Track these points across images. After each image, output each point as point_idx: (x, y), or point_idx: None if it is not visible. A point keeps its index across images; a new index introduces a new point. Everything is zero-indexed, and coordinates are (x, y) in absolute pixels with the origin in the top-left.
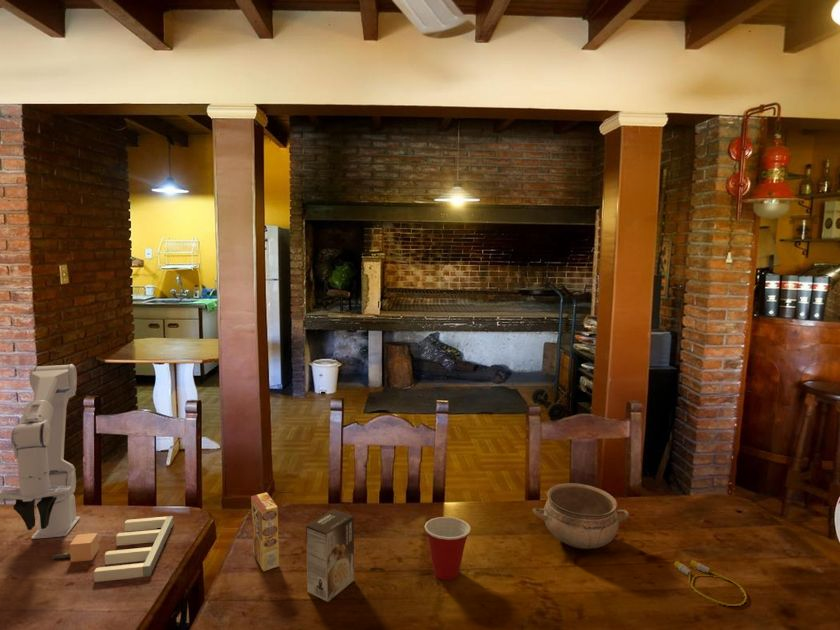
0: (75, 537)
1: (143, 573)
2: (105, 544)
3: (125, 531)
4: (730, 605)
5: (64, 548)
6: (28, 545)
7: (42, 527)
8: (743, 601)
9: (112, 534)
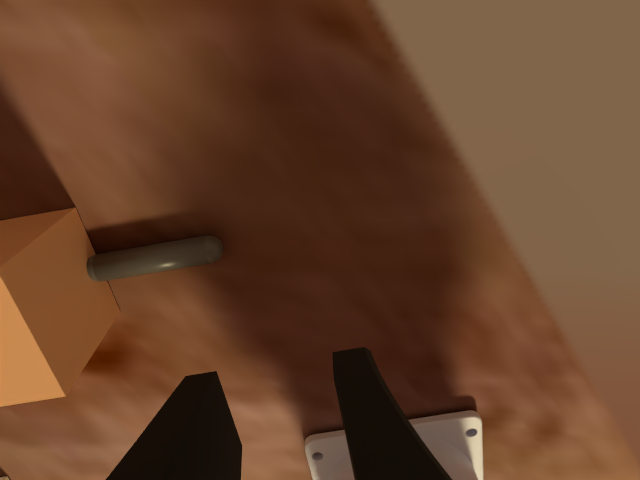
0: (44, 362)
1: None
2: None
3: (5, 477)
4: None
5: (232, 339)
6: (461, 362)
7: (197, 385)
8: None
9: (59, 454)
